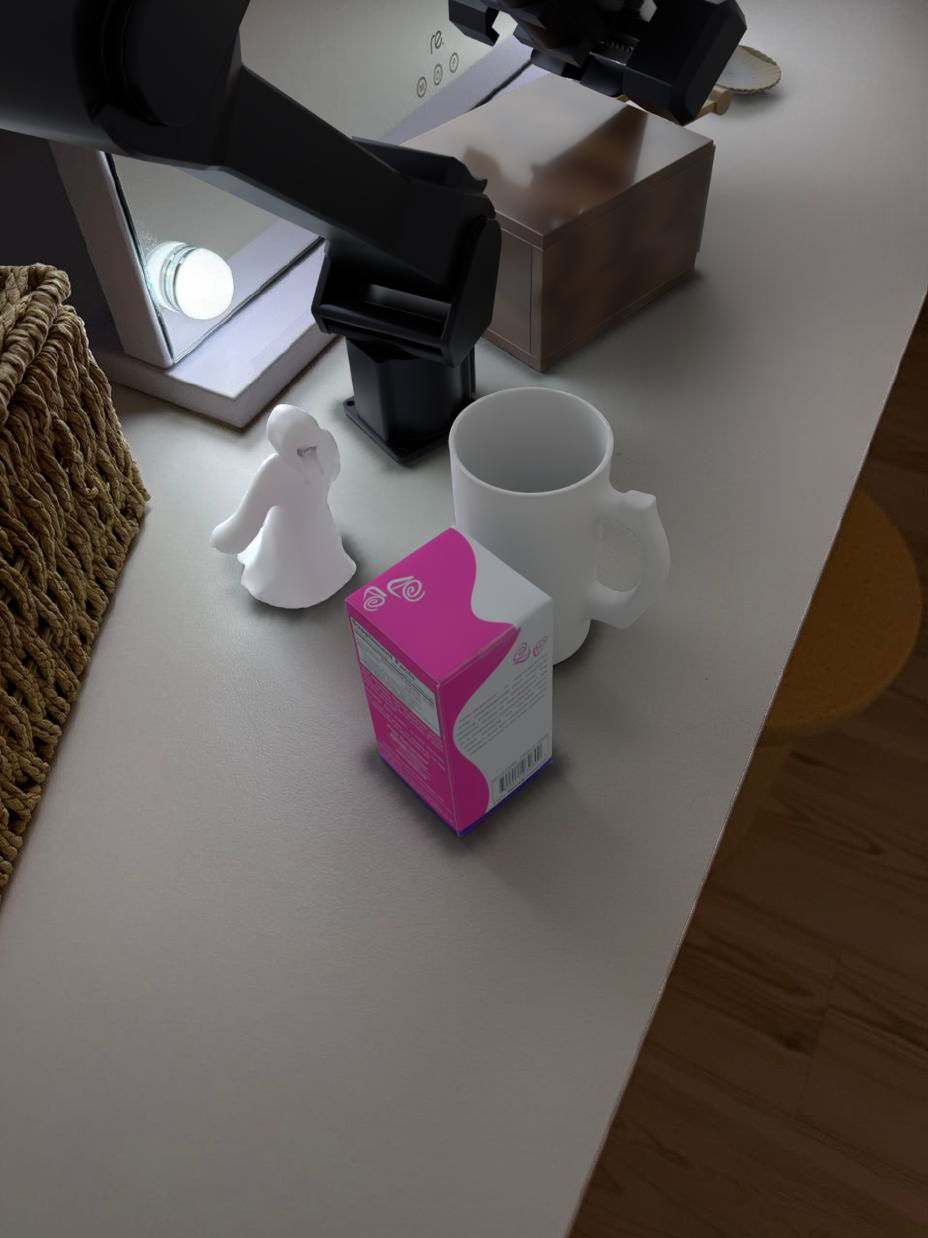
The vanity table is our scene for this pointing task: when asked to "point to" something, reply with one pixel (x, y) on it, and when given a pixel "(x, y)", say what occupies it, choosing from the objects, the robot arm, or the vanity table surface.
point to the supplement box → (457, 675)
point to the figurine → (290, 517)
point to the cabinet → (578, 209)
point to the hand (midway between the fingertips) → (643, 87)
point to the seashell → (749, 72)
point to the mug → (552, 504)
